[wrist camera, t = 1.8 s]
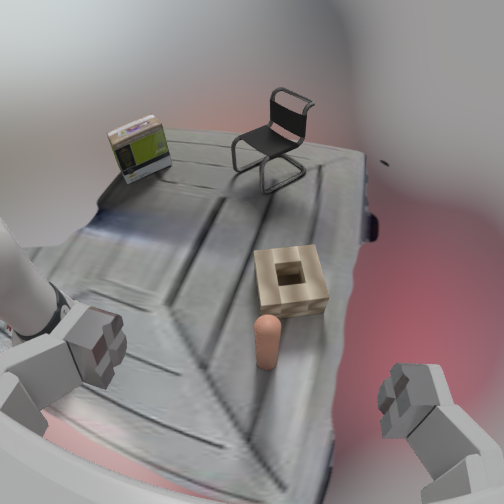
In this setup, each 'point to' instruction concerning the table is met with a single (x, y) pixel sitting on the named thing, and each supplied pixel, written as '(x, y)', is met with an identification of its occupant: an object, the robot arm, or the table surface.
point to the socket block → (290, 282)
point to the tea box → (140, 148)
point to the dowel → (267, 341)
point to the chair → (276, 138)
